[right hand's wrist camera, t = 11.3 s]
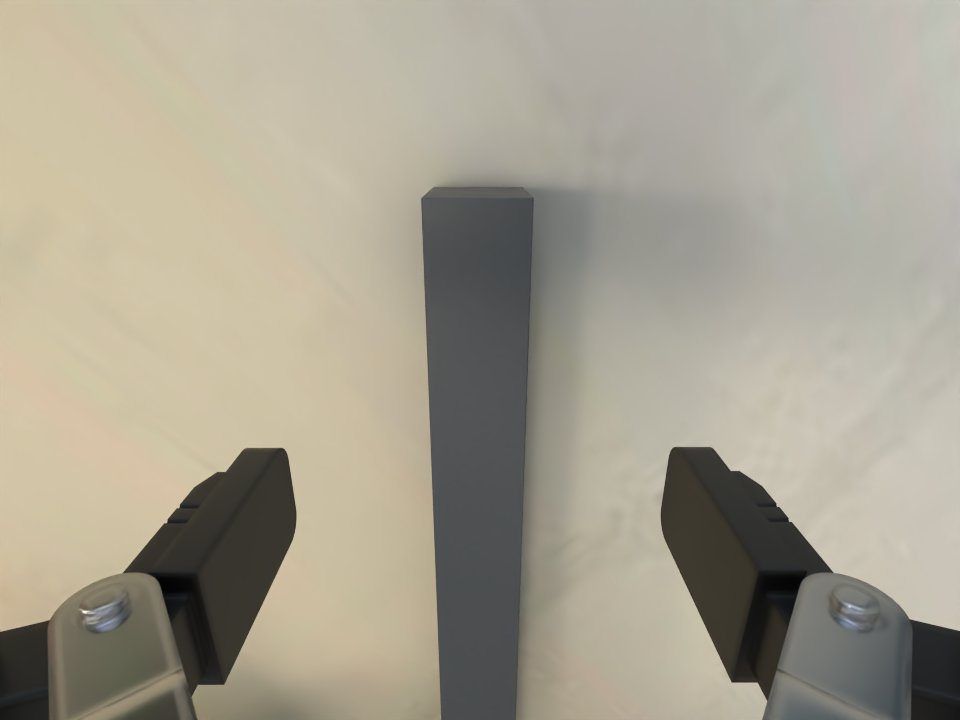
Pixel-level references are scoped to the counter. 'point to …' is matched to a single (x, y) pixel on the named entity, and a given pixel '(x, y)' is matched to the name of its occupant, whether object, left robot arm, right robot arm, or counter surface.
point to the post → (477, 436)
